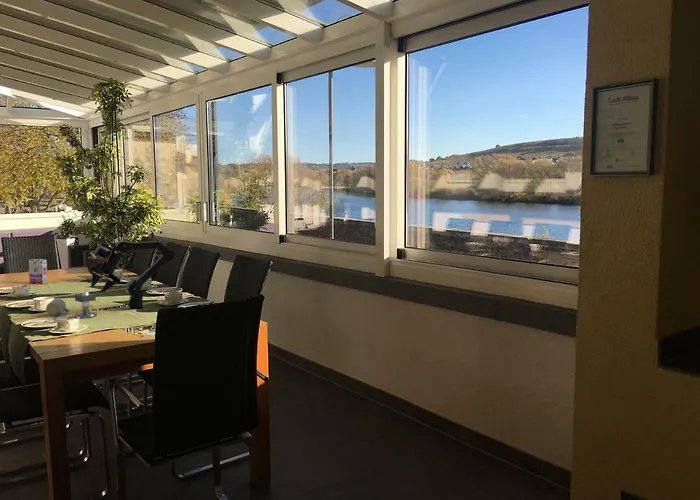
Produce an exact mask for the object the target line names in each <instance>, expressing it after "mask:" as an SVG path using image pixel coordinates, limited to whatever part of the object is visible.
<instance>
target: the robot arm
mask: <svg viewBox="0 0 700 500" xmlns="http://www.w3.org/2000/svg"><path fill="white" fill-rule="evenodd" d="M146 249H147V250H148V249H152V250H153V249H156V251H157V252H158V253H159V256H158V258H157V259H156V260H155V261H154V263H152V264H151V265H150V266H149V267H148V268H146V270H144V271H143V273H142V274H141V275H139V276H138V277H137V278H130V280H128V282H126V284H125V287H124V290H125V292H126V293H127V294H128V295H129V299H128V307H129V309H130V310H134V309H135V310H137V309H144V306H143V305H144V304H143V302H144V301H143V300H144V299H143V297H144V292H143V291H141V290H142V288H143V286H144V284H145V283H146V282H147V281H148V280H149V279H150V278H152V277H153V275H154V274H156V273H157V272H158V271H159V270H160V269H161V268H162V267H163V266H165V265H166V264H169V263H170V262H172V261H173V260H175V258H176V254H175V251H174V250H171V249H169V247H166V246H165V245H164V244H163V243H161V241H158V240H154V241H153V240H152V241H139V242H138V241H136V242H134V241H133V242H132V241H125V240H119V241H116V243H115V244H113V245H111V246H109V245H107V244H105V243H103V242H100V244H98V246H97V247H96V248H95V250H94V252H93V254H94V255H95V256H100V257H102V258H104V259H105V258H108V260H107V262H104V263H103V264H101V263H99V261H94V262H93V264H92V267H91V268H90V270H91V271H93V272H91V273H92V274H91V275H92V278H91V280H92V283H91V282H90V287H91V288H93V287H94V288H95V286H96V285H97V284H98V283H97V282H98V281H99V280H100V279H103V276H104V277H106V278H105V279H106V282H105V284H104V286H103V288H102V290H101V292H102V293H104V292H106V291H108V290H109V289H110V288H112V287H113V286H115V285H117V284H120V282H121V278H120V277H118V276H116V275H115V274H114V273H115V270H118V269H119V267H118V265H119V264H120V262H121V261H122V259H124V260H127V257H126V254H125V253H128V252H132V251H134V250H146ZM104 273H105V274H104ZM101 275H102V276H101Z"/></svg>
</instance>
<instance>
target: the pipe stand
mask: <svg viewBox="0 0 700 500" xmlns="http://www.w3.org/2000/svg"><path fill="white" fill-rule="evenodd" d="M88 293H89V292H87V291H84V292H83V291H82V292H81V294H82V295H83V296H84V295H89V294H88ZM81 303H82V305H81V308H82V312H79V313H76V314H75V315H74V317H75V316H78V317H80V318H79V319H88V318H89V319H90V318H95V317H97V316H98V313H97V312H93V311H91V312H90V304H89V303H90V301H88V302H81Z"/></svg>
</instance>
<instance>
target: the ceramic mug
mask: <svg viewBox="0 0 700 500" xmlns="http://www.w3.org/2000/svg"><path fill="white" fill-rule="evenodd" d="M45 312H46V314H47V315H49V316H52V317H55V316H58V315H65V316H69V315H70V314H71V310H70V309H69V308H67V304H66V302H65V301H64V300H63V299H60V298H55V299H52V300H51V301H50V302H49V303H47V305H46V308H45Z"/></svg>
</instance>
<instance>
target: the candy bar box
mask: <svg viewBox="0 0 700 500" xmlns="http://www.w3.org/2000/svg"><path fill="white" fill-rule="evenodd" d="M28 274H29V284H31V283H39V284H38V285H45V284H44V283H46V284H49V283H48V282H49V281H48V279H49V278H48V260H47V259H46V258H45V259H40V258H38V259H37V258H31V259H28Z"/></svg>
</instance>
